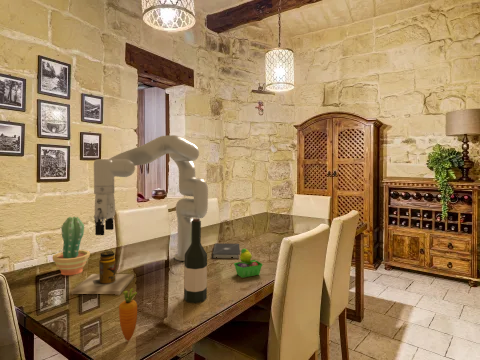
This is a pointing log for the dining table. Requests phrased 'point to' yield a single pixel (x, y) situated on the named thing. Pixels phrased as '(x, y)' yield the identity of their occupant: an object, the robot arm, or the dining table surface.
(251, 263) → the fruit basket
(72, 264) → the potted cactus
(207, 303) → the dining table surface
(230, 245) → the book
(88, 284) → the board
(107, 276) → the condiment
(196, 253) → the wine bottle
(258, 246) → the dining table surface
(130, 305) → the carrot
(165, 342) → the dining table surface
